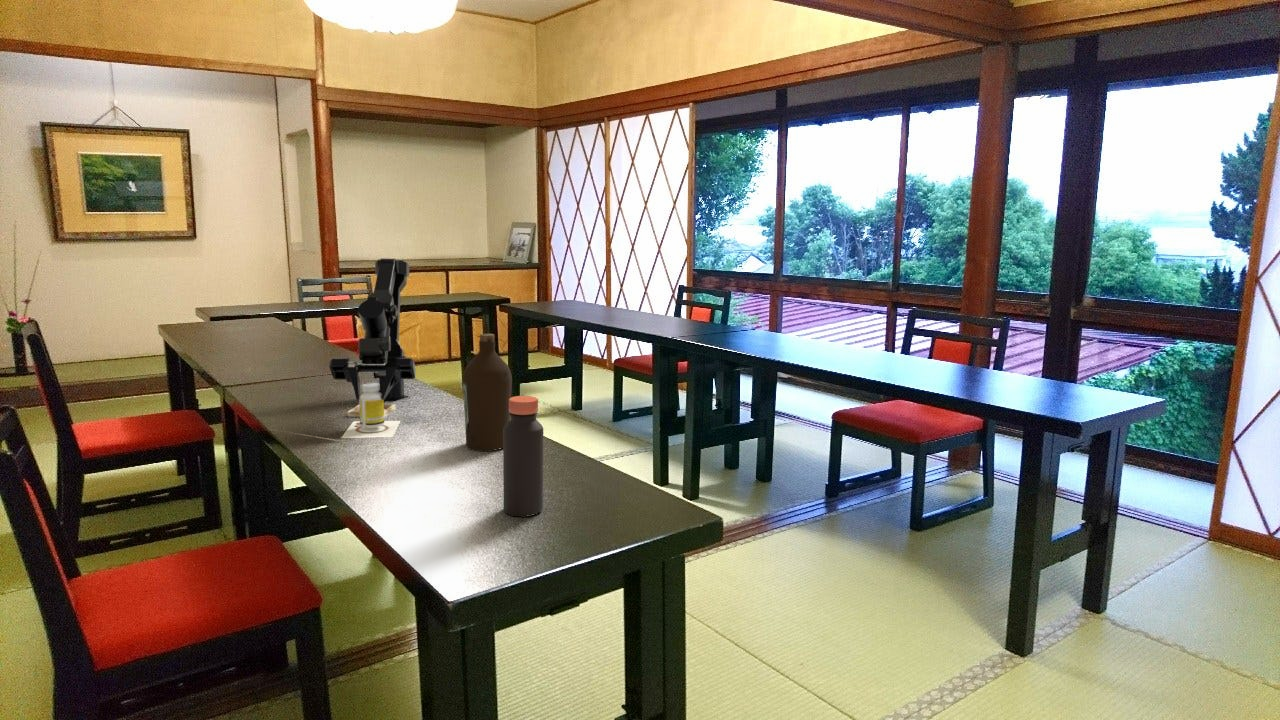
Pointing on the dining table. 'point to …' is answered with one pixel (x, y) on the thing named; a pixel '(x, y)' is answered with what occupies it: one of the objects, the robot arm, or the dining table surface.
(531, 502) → the vinegar
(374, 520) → the dining table surface
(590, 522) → the dining table surface
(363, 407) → the supplement bottle
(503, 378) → the brown rum bottle
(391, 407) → the masu tray
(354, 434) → the card
